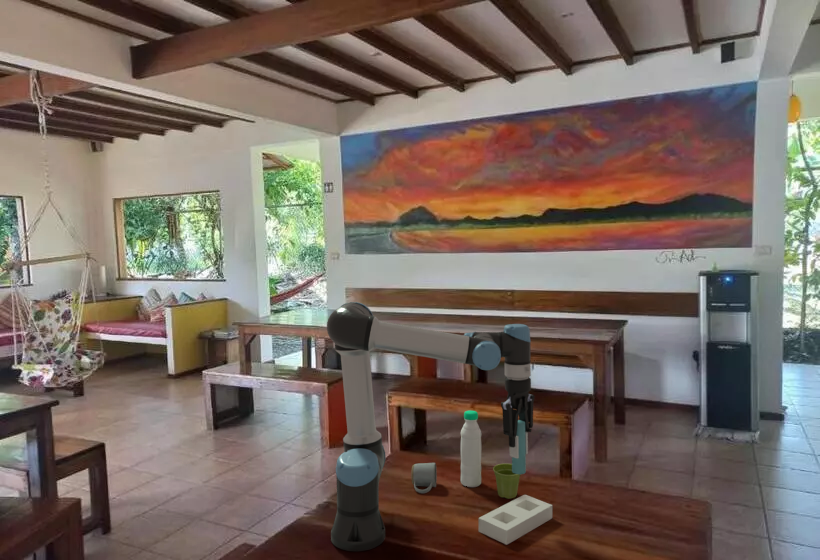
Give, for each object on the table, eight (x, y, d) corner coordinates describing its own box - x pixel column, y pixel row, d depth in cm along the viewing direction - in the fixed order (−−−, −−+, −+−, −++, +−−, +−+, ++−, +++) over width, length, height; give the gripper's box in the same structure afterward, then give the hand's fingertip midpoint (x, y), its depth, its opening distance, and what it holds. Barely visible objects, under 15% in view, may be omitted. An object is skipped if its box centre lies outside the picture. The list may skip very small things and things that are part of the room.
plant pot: (527, 498, 185) (527, 472, 185) (502, 503, 182) (502, 476, 181) (512, 486, 194) (512, 461, 193) (487, 491, 190) (487, 466, 190)
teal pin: (509, 471, 171) (508, 422, 170) (517, 467, 174) (516, 419, 173) (520, 475, 168) (519, 425, 167) (528, 471, 171) (527, 421, 170)
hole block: (478, 531, 164) (478, 517, 164) (524, 506, 179) (524, 494, 179) (506, 544, 157) (506, 530, 157) (552, 518, 172) (552, 505, 172)
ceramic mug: (413, 480, 200) (413, 458, 199) (436, 481, 199) (436, 459, 198) (409, 494, 189) (409, 471, 189) (434, 495, 188) (434, 472, 188)
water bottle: (484, 482, 198) (484, 410, 196) (475, 489, 192) (475, 416, 190) (466, 477, 202) (466, 407, 200) (456, 485, 196) (456, 412, 194)
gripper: (510, 384, 160) (511, 466, 162) (545, 374, 172) (545, 450, 173) (489, 380, 166) (490, 459, 168) (524, 370, 177) (525, 444, 179)
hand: (518, 454), depth 171 cm, fingers closed on teal pin, 4 cm apart
